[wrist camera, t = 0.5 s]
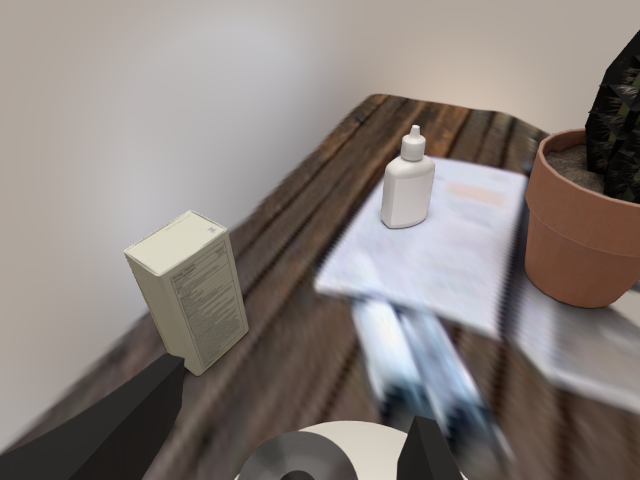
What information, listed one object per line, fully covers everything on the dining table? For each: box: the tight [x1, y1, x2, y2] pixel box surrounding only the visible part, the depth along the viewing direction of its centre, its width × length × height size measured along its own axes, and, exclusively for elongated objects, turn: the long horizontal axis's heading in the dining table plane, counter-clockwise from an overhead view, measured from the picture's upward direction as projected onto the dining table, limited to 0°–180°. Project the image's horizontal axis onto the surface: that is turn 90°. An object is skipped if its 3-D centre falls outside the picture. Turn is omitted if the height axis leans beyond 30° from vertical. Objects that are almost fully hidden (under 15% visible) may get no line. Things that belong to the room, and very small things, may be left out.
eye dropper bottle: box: [381, 125, 435, 228], centre depth 47 cm, size 4×6×12 cm
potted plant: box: [525, 30, 640, 308], centre depth 35 cm, size 14×14×25 cm
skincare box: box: [124, 210, 249, 376], centre depth 33 cm, size 6×4×12 cm
